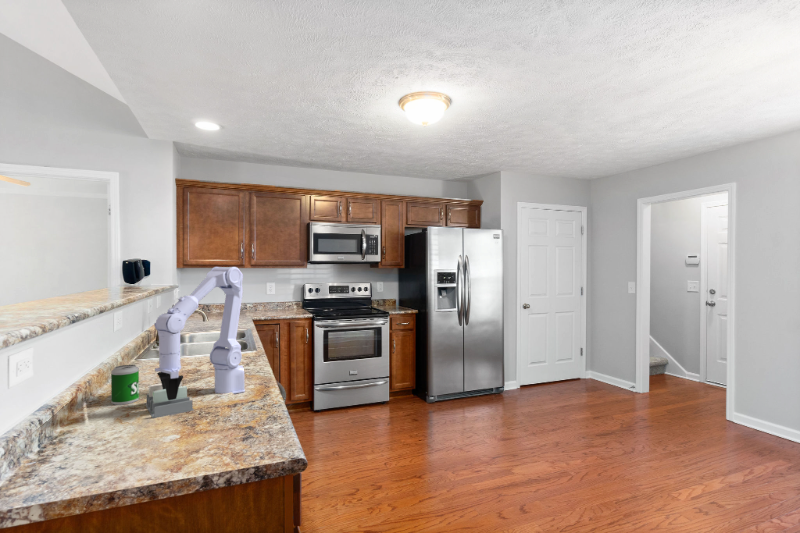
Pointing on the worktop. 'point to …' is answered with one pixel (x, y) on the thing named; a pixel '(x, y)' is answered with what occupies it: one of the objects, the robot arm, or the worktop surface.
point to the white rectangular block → (156, 388)
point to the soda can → (124, 384)
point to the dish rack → (168, 406)
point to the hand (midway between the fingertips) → (170, 396)
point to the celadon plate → (162, 395)
